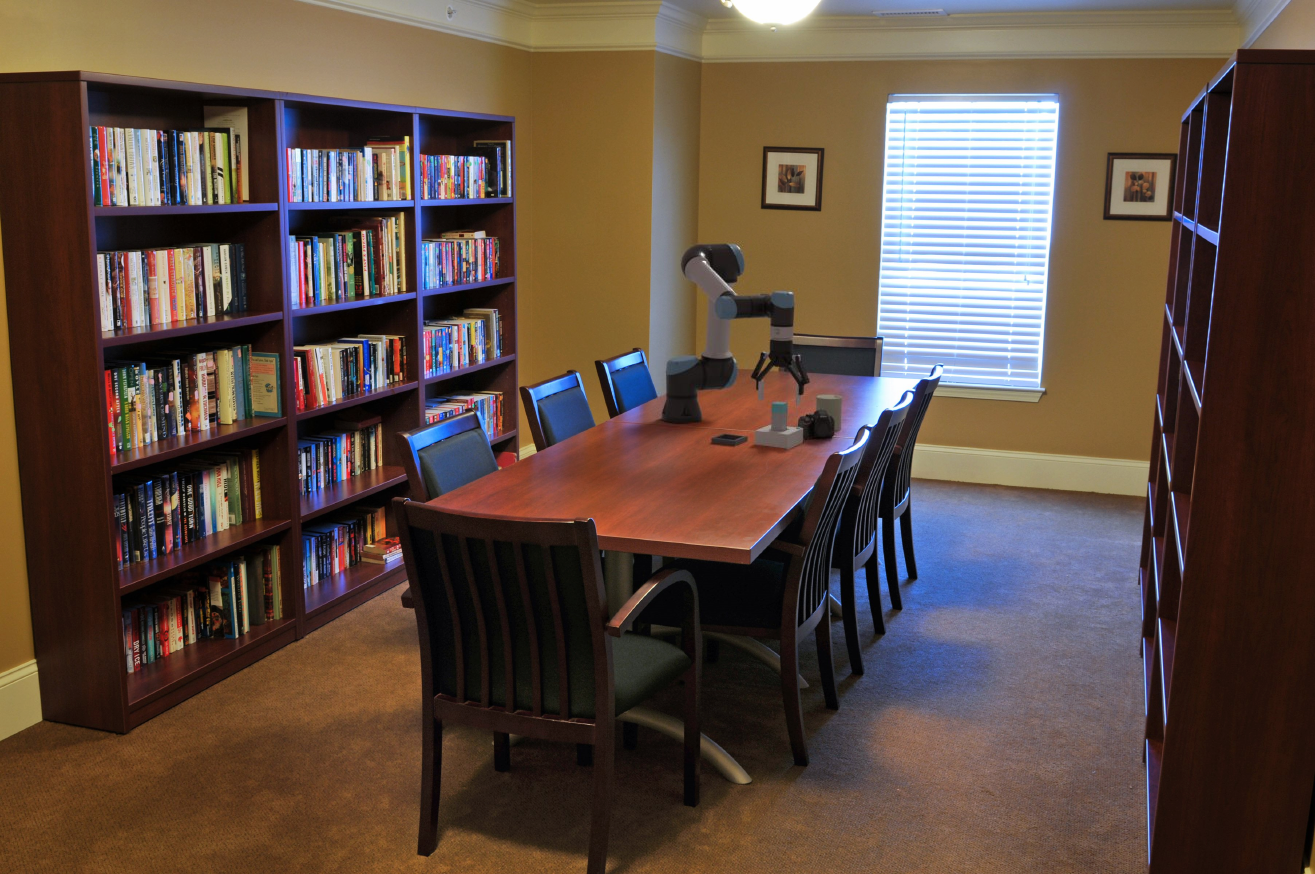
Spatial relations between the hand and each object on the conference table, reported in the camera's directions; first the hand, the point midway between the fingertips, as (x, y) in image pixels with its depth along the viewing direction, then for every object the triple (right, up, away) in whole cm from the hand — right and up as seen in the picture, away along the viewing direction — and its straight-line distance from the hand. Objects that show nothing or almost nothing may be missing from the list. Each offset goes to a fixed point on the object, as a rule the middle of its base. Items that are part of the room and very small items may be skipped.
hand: (779, 402), depth 367 cm
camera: (+15, -12, +13) cm, 23 cm away
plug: (0, -13, +2) cm, 13 cm away
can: (+21, -9, +28) cm, 36 cm away
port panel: (0, -14, +3) cm, 14 cm away
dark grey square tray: (-16, -13, +4) cm, 22 cm away
